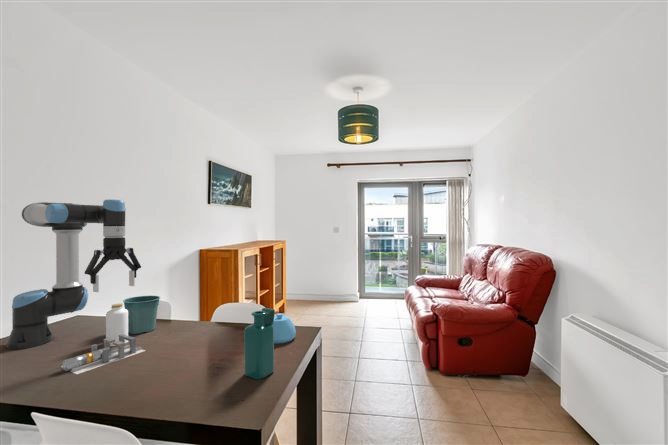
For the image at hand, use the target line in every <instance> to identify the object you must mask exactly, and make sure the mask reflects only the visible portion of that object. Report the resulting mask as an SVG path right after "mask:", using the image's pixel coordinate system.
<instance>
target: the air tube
mask: <svg viewBox="0 0 668 445" xmlns="http://www.w3.org/2000/svg"><path fill="white" fill-rule="evenodd" d="M106 348H108V349H109V357H110V356H111V347H110V348H109V347H106ZM102 349H105V348H104V347H103V348H100V349H98V350H96V351H93V352H91V351H90V352H87V353H83V354H81V355H77V356H74V357H70V358H67V359H64V360H63V361H62V366H63V367H62V369H63V371H64V372H68V371H69V370H72V369H74V368H77V367H80V366H83V365H86V364H89V363H92V362H95V361H98V360H101V359H102ZM69 372H70V371H69Z"/></svg>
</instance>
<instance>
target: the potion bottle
mask: <svg viewBox="0 0 668 445" xmlns="http://www.w3.org/2000/svg"><path fill="white" fill-rule="evenodd" d="M123 304H124V303H114V304H112V305H111V307H110V308H111V309H110V310H108V311H107V312H106V313H105V339H106V338H112V339H115V341H119V335H121V334H124V335H127V336H129V332H128V310H127V309H125V307H124V305H123ZM127 343H129V341H128V340H125V344H127ZM110 347H117V346H116V345H113V342H112V343H110Z"/></svg>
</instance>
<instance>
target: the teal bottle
mask: <svg viewBox="0 0 668 445" xmlns="http://www.w3.org/2000/svg"><path fill="white" fill-rule="evenodd" d="M275 313H276V311H275V309H273V308H269V307H263V308H262V309H261V310H257V311H253V312H252V313H251V314H250V315H251V316H253V323H252V324H249V325H247V326H246V327H245V328H244V331H243V332H244V333H243V335H244V336H243V339H244V342H243V343H244V349H243V350H244V352H243V353H244V375H245V376H246V377H248V378H252V379H255V380H262V379H264V378H265V377H268V376H269V375H271V374H273V373H274V372H275V349H274V346H275V344H274V329H273V326H272V324H273V322H274V316H275Z"/></svg>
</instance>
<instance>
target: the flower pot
mask: <svg viewBox="0 0 668 445" xmlns="http://www.w3.org/2000/svg"><path fill="white" fill-rule="evenodd" d="M160 299H161V296H160V295H140V296H138V295H137V296H133V297H128V298H125V299H123V300H122V302H123V304H124V305H123V307H124V309H127V310H128V334H135V335H138V334H143V333H149V332H152V331H154V330H155V329H156V326H157V325H156V324H157V318H158V317H157V315H158V308H159V307H158V306H159V305H160V304H159V303H160Z"/></svg>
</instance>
